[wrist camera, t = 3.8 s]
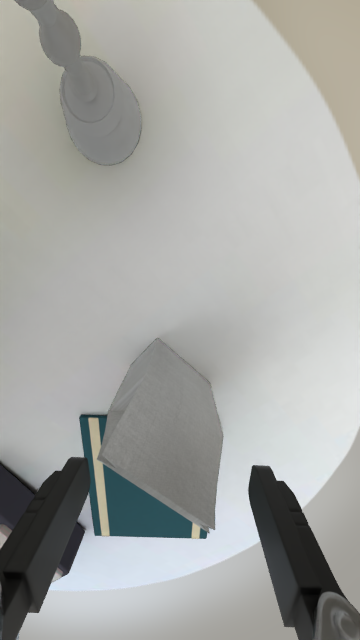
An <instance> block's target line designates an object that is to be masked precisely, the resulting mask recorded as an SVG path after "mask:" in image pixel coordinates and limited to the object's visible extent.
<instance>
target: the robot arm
mask: <svg viewBox="0 0 360 640" xmlns="http://www.w3.org/2000/svg"><path fill="white" fill-rule="evenodd" d="M90 482H91V479H90V472H89V464H88V459H87V458H80V457H71V458H69V459H68V461H67V462H66V464H65V466H64V467H63V469H62V471H55V472H54V473H53V474H52V475H50V476H49V477H48V478H47V479H46V480H45V481H44V482H43V484H42V485H41V487H40V488H39V490H38V491H37V493H36V495H35V496H34V499H33V500H32V501H31V502H30V504H29V505H28V507H27V509H26V511H25V513H23V515H22V516H21V518H20V519H19V521H18V523H17V524H16V526H15V527H14V529H13V530H12V532H11V533H10V535H9V537H8V538H7V540H6V541H5V543H4V544H3V546H2V547H1V549H0V640H19V631H20V629H21V627H22V624H23V622H24V620H25V618H26V615H27V613H28V612H29V613H30V612H31V613H39V611H40V608H41V606H42V604H43V601H44V599H45V596H46V594H47V592H48V589H49V587H50V584H51V582H52V580H53V577H54V575H55V572H56V570H57V568H58V565H59V563H60V560H61V558H62V556H63V553H64V551H65V548H66V546H67V544H68V541H69V539H70V536H71V534H72V532H73V529H74V527H75V524H76V522H77V520H78V517H79V515H80V512H81V510H82V507H83V505H84V503H85V500H86V498H87V495H88V492H89V488H90ZM248 492H249V500H250V505H251V508H252V512H253V515H254V519H255V523H256V526H257V530H258V533H259V537H260V541H261V544H262V547H263V551H264V555H265V558H266V562H267V566H268V569H269V573H270V576H271V580H272V584H273V587H274V591H275V594H276V598H277V602H278V605H279V609H280V612H281V616H282V620H283V623H284V626H285V627H295V630H296V633H297V636H298V639H299V640H360V613H359V612H358V611H357V610H356V609H355V608H354V606H353V605H352V604H350V602H349V601H348V600H347V598H346V597H345V596H344V594H343V593H342V591H341V589H340V588H339V586H338V584H337V582H336V580H335V578H334V576H333V574H332V572H331V570H330V568H329V565H328V563H327V561H326V559H325V557H324V555H323V553H322V551H321V549H320V547H319V545H318V543H317V541H316V538H315V536H314V534H313V532H312V530H311V528H310V526H309V525H308V522H307V520H306V518H305V515H304V514H303V513H302V509H301V507H300V505H299V503H298V501H297V499H296V497H295V495H294V493H293V492H292V491H291V490H290V488H289V487H288V486H287V485H286V483H285V482H284V481H276V478H275V476H274V474H273V471H272V469H271V468H270V467H269V466H258V465H253V466H252V470H251V476H250V482H249V488H248Z"/></svg>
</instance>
